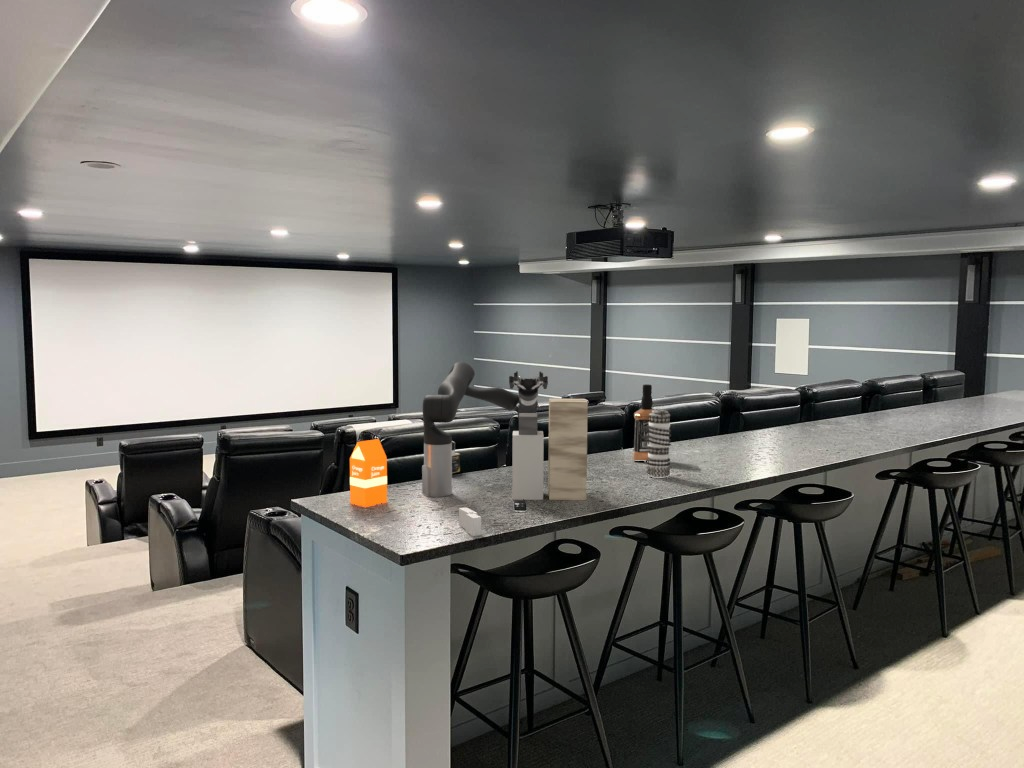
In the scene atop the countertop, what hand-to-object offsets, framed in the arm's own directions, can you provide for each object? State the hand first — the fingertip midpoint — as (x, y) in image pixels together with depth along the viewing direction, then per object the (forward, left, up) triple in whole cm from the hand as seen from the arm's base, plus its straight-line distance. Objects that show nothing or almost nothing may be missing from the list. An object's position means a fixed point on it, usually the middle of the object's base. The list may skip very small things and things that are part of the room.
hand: (528, 373), depth 264 cm
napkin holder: (-44, -54, -40) cm, 80 cm away
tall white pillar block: (-11, -23, -39) cm, 47 cm away
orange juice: (-61, -12, -39) cm, 74 cm away
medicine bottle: (-22, +25, -39) cm, 52 cm away
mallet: (-9, -18, -18) cm, 27 cm away
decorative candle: (+48, -14, -39) cm, 63 cm away
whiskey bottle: (+63, +16, -39) cm, 76 cm away
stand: (+1, -29, -39) cm, 48 cm away
